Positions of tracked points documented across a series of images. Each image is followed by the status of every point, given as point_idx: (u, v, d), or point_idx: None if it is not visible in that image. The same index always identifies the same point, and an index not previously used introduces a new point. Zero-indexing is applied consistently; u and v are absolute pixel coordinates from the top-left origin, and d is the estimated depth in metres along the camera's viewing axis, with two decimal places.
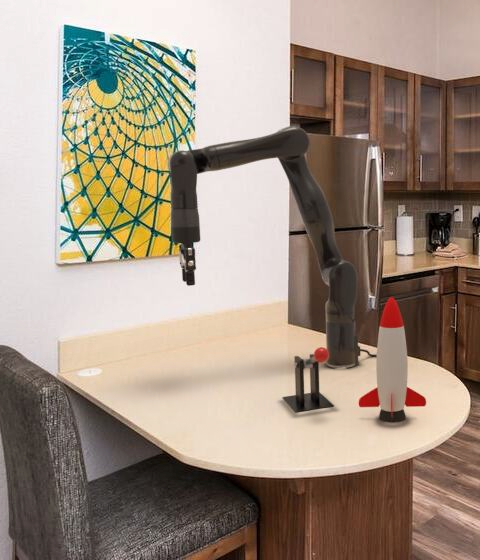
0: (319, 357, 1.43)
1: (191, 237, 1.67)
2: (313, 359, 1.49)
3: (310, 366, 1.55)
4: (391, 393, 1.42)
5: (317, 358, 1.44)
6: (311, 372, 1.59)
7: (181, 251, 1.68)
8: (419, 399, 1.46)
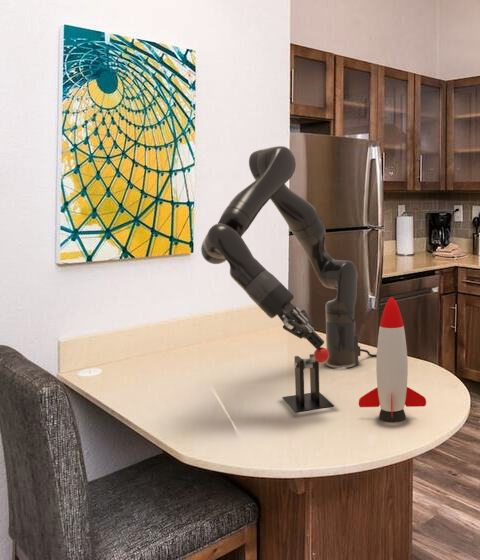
0: (319, 357, 1.43)
1: (277, 303, 1.41)
2: (313, 359, 1.49)
3: (310, 366, 1.55)
4: (391, 393, 1.42)
5: (317, 358, 1.44)
6: (311, 372, 1.59)
7: (283, 321, 1.43)
8: (419, 399, 1.46)
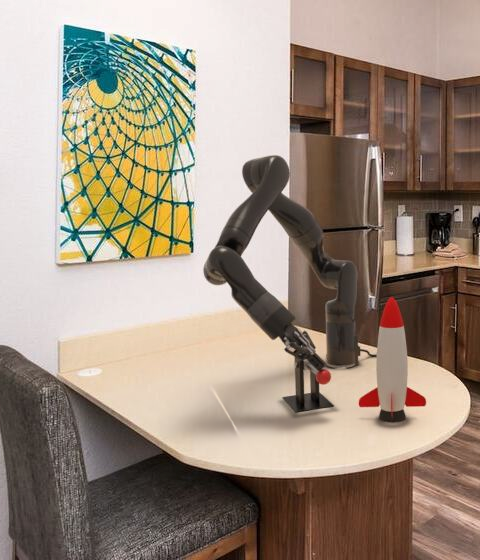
0: (321, 381, 1.43)
1: (278, 326, 1.41)
2: (314, 372, 1.49)
3: None
4: (391, 393, 1.42)
5: (319, 381, 1.44)
6: (311, 372, 1.59)
7: None
8: (419, 399, 1.46)
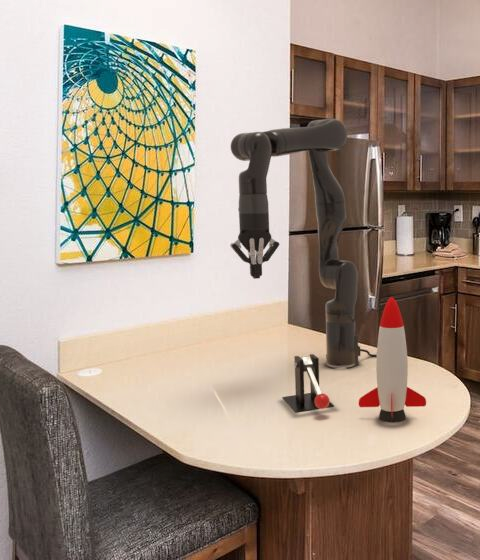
0: (319, 407, 1.46)
1: (241, 225, 1.57)
2: (313, 387, 1.50)
3: None
4: (391, 393, 1.42)
5: (317, 406, 1.46)
6: None
7: None
8: (419, 399, 1.46)
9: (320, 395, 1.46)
